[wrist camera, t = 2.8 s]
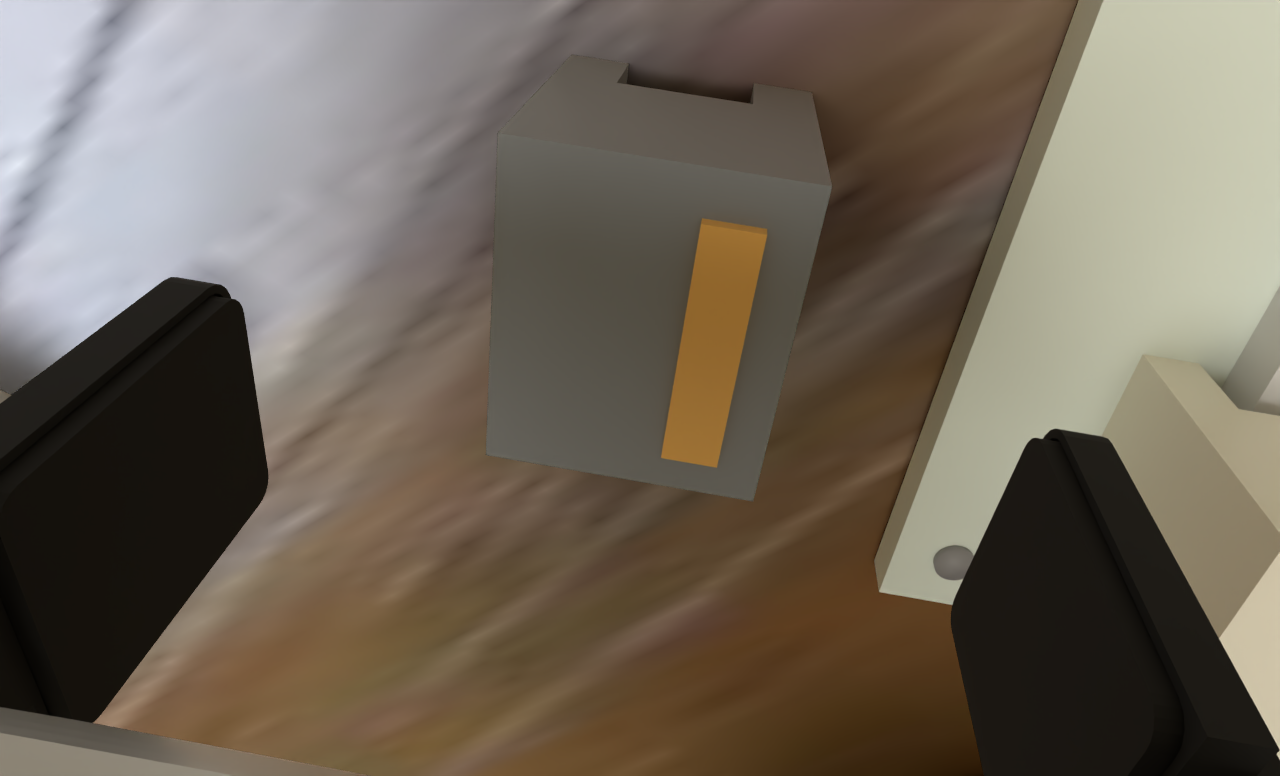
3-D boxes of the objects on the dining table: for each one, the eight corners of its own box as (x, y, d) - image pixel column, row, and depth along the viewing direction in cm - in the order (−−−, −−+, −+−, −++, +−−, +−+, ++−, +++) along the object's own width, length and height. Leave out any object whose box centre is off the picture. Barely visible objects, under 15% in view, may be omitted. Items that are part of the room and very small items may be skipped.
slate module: (754, 344, 21) (753, 510, 16) (551, 311, 21) (482, 463, 16) (811, 91, 18) (833, 192, 12) (572, 54, 18) (492, 137, 13)
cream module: (1240, 594, 22) (1396, 834, 16) (1039, 559, 22) (1128, 785, 16) (1379, 393, 18) (1629, 610, 13) (1142, 354, 19) (1294, 553, 13)
